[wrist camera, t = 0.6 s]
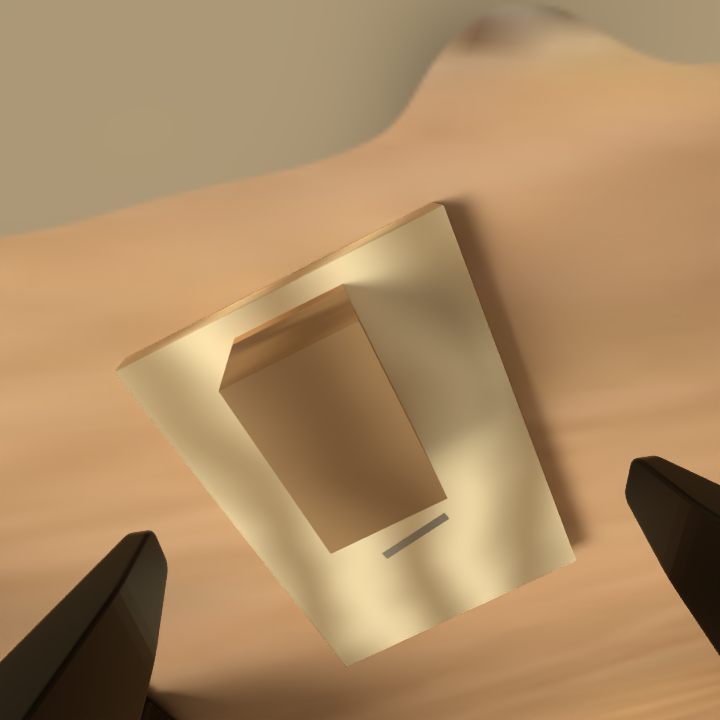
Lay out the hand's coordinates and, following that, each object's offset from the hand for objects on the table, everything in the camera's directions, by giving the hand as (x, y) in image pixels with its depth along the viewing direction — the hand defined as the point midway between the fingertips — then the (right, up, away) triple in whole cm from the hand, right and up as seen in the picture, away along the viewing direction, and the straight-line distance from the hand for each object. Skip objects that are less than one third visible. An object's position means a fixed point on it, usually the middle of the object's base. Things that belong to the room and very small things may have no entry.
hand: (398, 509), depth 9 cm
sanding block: (-2, +2, +12) cm, 13 cm away
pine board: (0, -3, +16) cm, 16 cm away
